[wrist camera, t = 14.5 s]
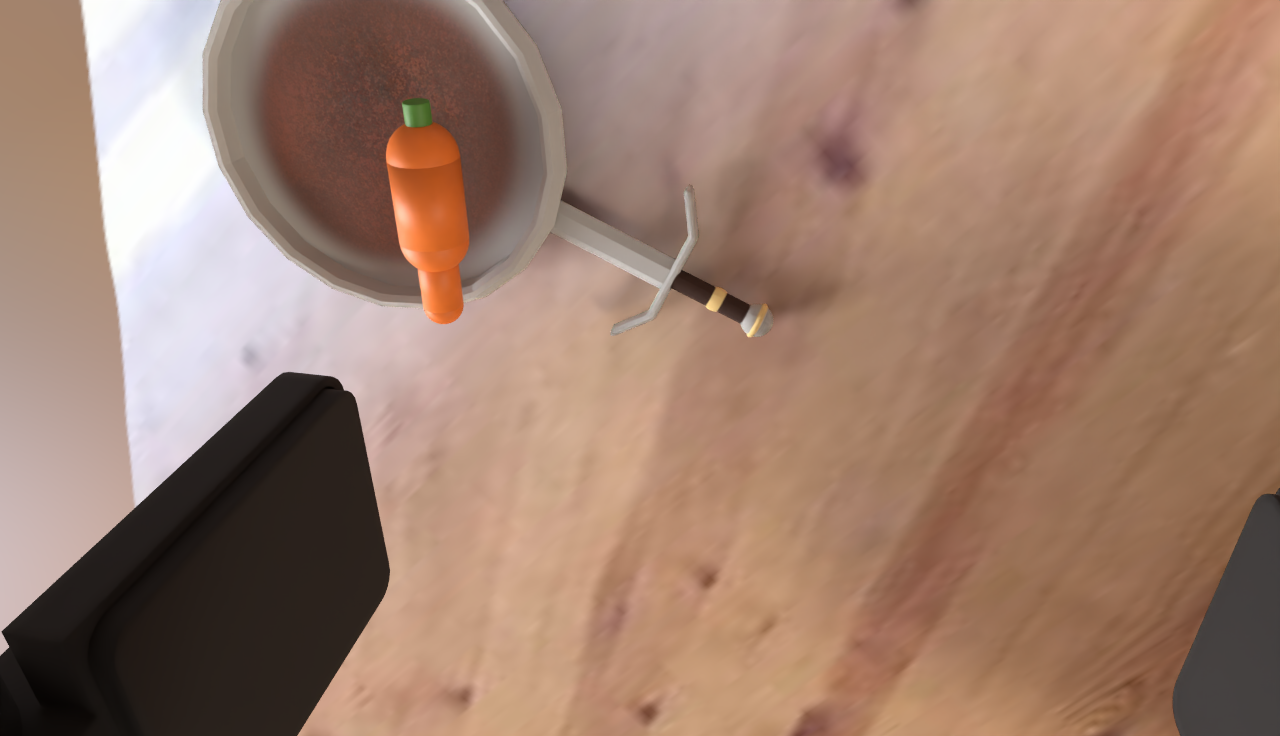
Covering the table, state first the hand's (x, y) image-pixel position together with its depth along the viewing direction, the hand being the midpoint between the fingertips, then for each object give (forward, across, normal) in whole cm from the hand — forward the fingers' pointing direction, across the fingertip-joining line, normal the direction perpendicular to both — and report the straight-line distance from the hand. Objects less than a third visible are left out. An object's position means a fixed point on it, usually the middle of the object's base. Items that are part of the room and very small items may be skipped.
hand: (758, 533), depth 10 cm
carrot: (+27, +15, +8) cm, 31 cm away
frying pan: (+31, +14, +7) cm, 34 cm away
